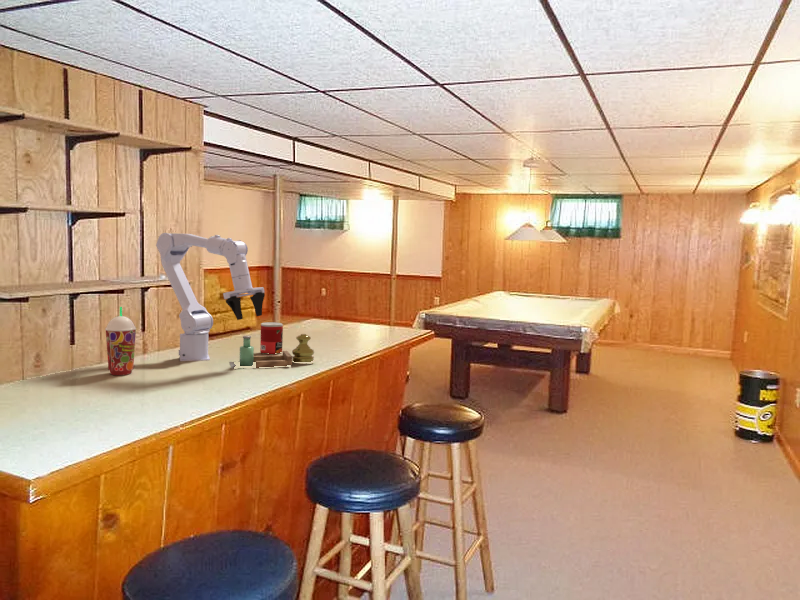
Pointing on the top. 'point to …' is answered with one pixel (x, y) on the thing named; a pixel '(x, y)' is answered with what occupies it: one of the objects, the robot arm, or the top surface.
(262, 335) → the canned food
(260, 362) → the cradle
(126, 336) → the smoothie
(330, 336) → the top surface
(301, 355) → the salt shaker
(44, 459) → the top surface
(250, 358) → the bottle
